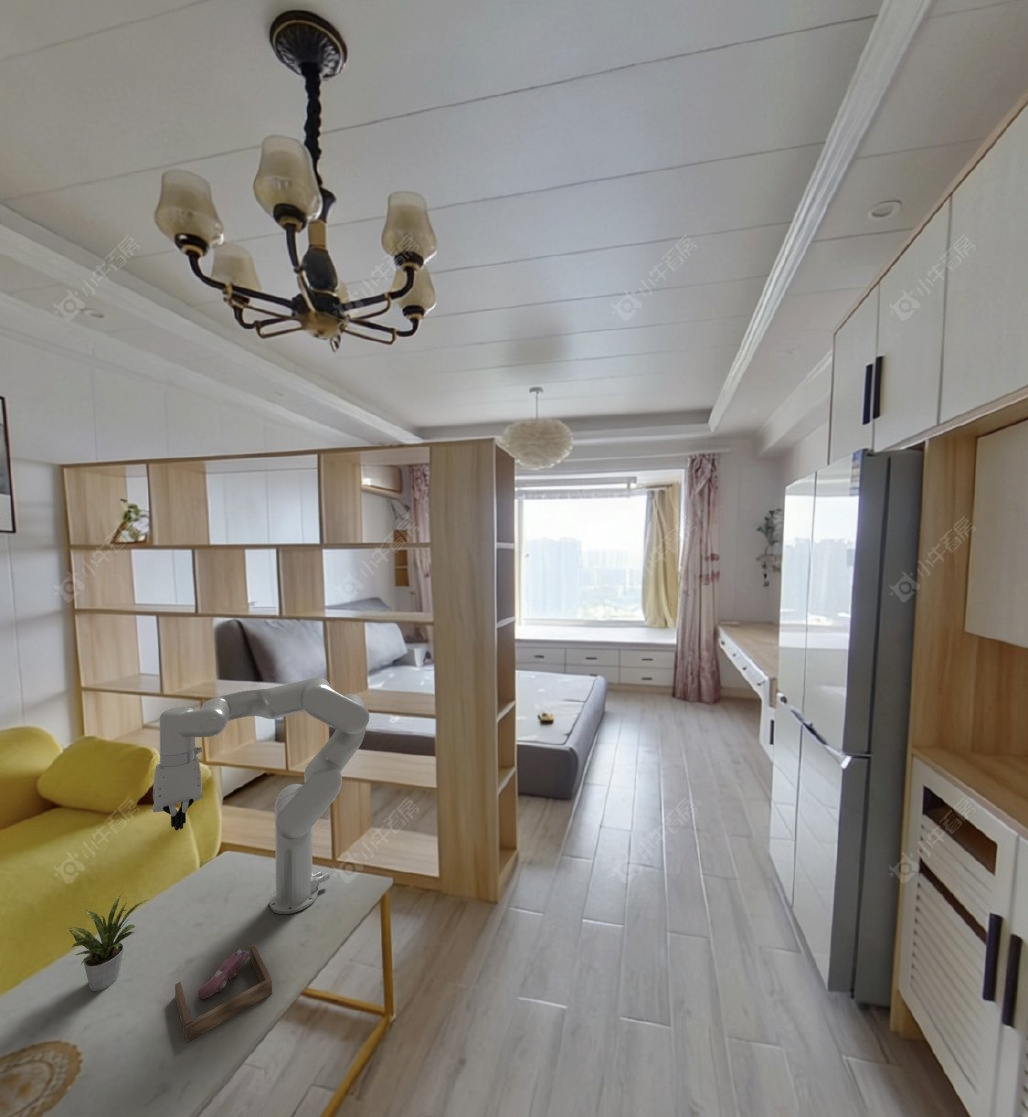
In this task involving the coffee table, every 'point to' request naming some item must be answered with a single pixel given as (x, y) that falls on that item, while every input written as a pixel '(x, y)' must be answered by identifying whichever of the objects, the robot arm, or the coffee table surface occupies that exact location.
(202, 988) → the video game controller
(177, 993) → the dock bay
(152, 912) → the coffee table surface
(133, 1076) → the coffee table surface
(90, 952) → the house plant
